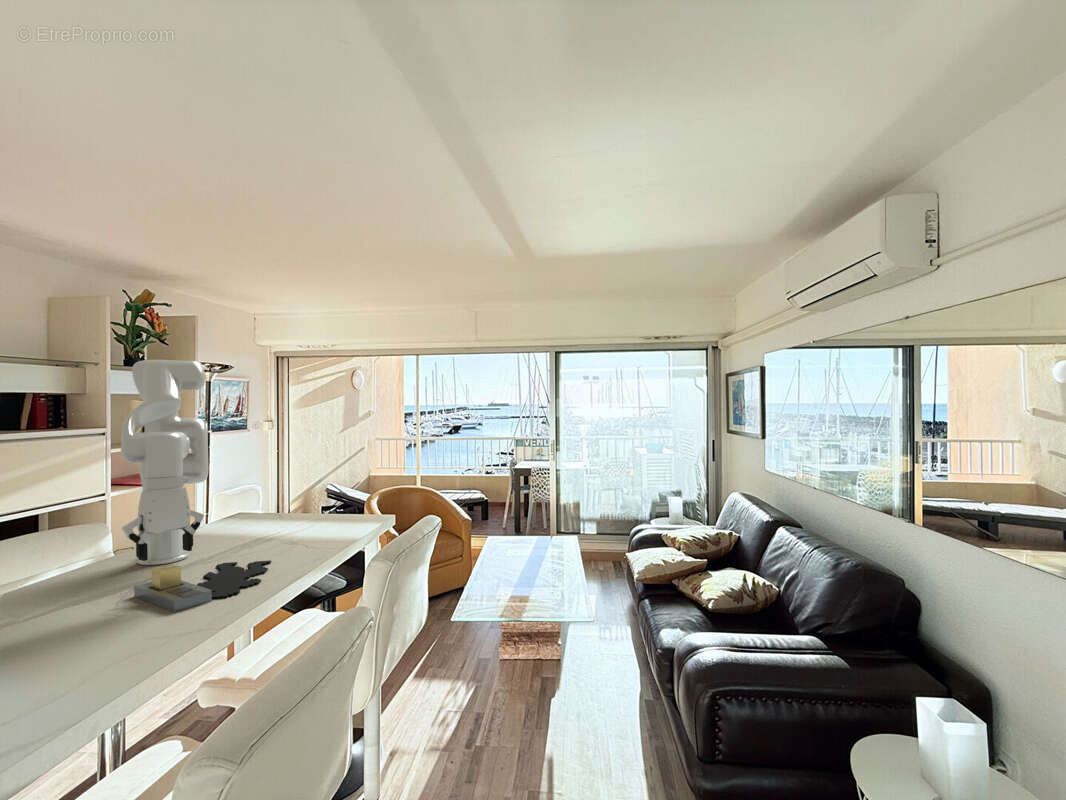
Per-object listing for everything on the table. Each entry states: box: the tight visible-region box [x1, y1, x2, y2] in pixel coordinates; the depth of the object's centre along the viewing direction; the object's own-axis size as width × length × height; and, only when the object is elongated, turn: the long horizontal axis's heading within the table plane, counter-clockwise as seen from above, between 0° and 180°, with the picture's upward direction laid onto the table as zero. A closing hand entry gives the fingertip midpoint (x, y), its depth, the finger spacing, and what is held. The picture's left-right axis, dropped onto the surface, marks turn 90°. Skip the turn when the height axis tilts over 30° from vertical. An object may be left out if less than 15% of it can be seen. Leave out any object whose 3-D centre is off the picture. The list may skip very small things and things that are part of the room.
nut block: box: [150, 563, 182, 592], centre depth 131 cm, size 4×4×7 cm
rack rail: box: [133, 579, 213, 613], centre depth 129 cm, size 20×8×3 cm, turn 58°
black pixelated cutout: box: [196, 559, 272, 601], centre depth 143 cm, size 16×1×30 cm
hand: (165, 555), depth 130 cm, fingers open, 9 cm apart
